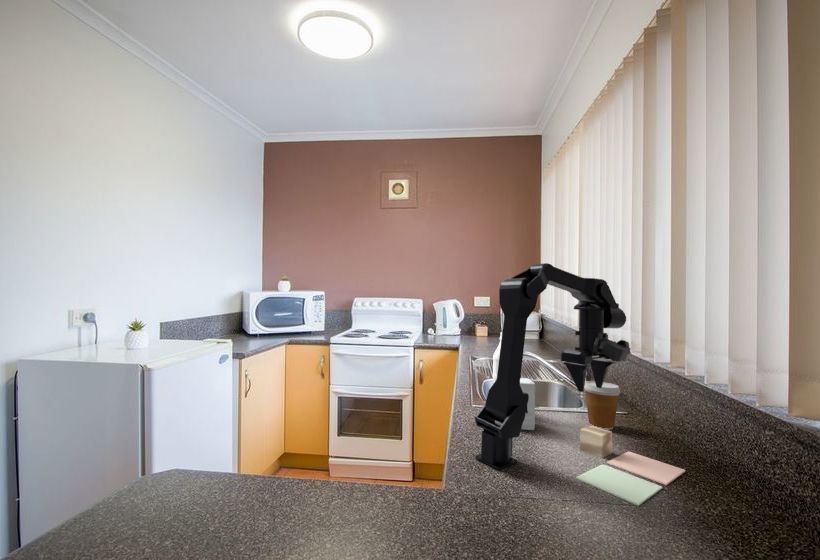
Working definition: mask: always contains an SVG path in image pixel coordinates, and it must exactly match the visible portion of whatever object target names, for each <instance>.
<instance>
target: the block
mask: <svg viewBox="0 0 820 560" xmlns="http://www.w3.org/2000/svg"><path fill="white" fill-rule="evenodd" d="M579 450H580V451H581V452H584V453H585V454H586V453H587V454H588V455H589V454H590V455H592V456H595V457H598V458H601V459H603V458H605V457H607V456H609V455H612V453H613V432H612V430H604V429H601V428H598V427H594V426H591V425H588V426H585V427H581V428H580V429H579Z"/></svg>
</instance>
